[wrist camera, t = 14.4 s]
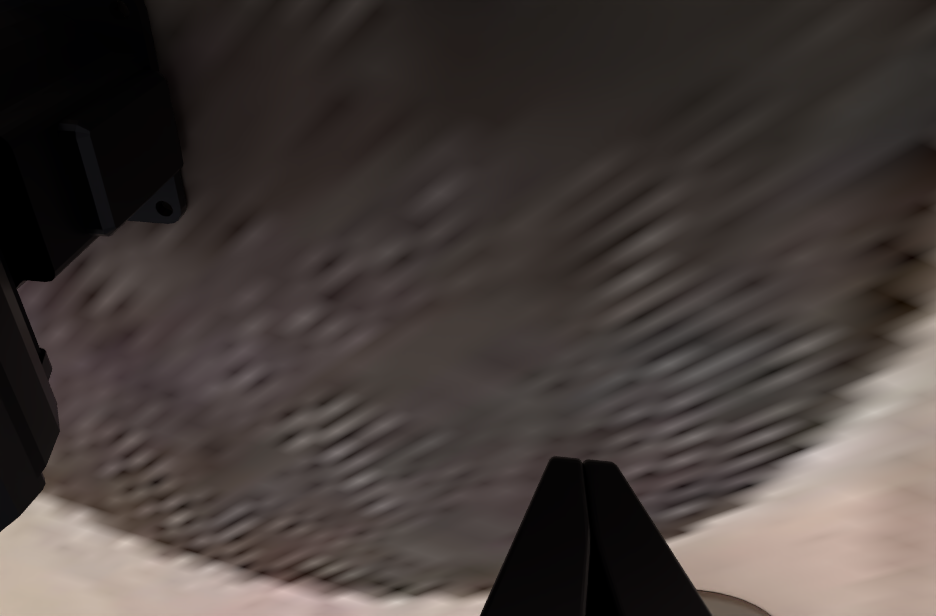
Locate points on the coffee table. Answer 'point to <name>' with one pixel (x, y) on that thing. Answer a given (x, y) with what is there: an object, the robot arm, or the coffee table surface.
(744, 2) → the coffee table surface
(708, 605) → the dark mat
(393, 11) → the coffee table surface
